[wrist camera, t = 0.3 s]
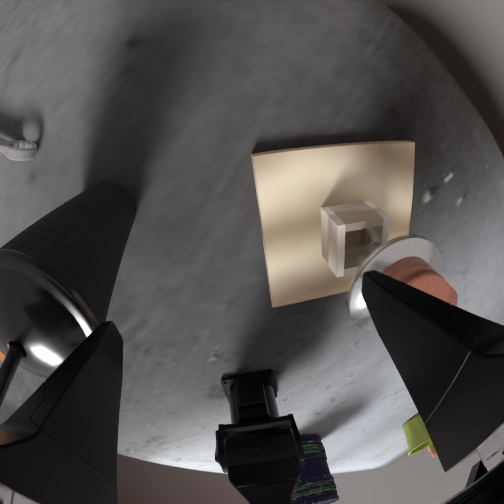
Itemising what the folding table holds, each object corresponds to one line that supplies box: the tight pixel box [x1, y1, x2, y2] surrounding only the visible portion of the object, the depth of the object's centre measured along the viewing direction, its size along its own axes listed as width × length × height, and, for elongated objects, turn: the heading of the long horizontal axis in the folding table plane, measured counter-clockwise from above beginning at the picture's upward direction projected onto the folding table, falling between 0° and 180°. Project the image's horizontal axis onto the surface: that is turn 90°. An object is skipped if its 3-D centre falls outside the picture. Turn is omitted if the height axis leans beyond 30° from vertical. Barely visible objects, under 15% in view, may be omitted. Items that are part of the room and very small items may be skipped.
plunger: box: [346, 234, 457, 332], centre depth 16 cm, size 7×7×7 cm
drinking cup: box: [0, 183, 135, 411], centre depth 12 cm, size 8×8×20 cm
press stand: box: [251, 140, 415, 308], centre depth 23 cm, size 14×14×4 cm
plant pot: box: [403, 414, 432, 455], centre depth 52 cm, size 9×9×9 cm
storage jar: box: [291, 434, 339, 504], centre depth 42 cm, size 10×10×15 cm
